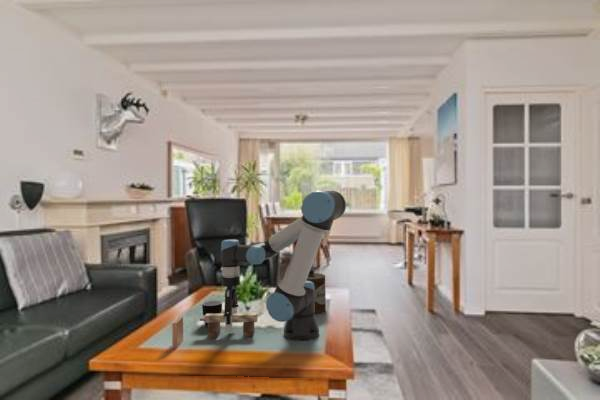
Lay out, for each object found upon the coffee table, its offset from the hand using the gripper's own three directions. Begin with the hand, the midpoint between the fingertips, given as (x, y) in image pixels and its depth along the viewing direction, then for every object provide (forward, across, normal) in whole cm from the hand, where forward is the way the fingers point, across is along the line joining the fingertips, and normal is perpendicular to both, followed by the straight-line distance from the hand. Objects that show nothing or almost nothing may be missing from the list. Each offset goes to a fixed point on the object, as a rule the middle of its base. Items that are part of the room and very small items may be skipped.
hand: (231, 326), depth 173 cm
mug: (+4, -16, -12) cm, 20 cm away
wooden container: (+4, -35, +35) cm, 50 cm away
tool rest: (+4, 0, 0) cm, 4 cm away
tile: (+4, +10, -20) cm, 23 cm away
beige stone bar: (-2, 0, 0) cm, 2 cm away
